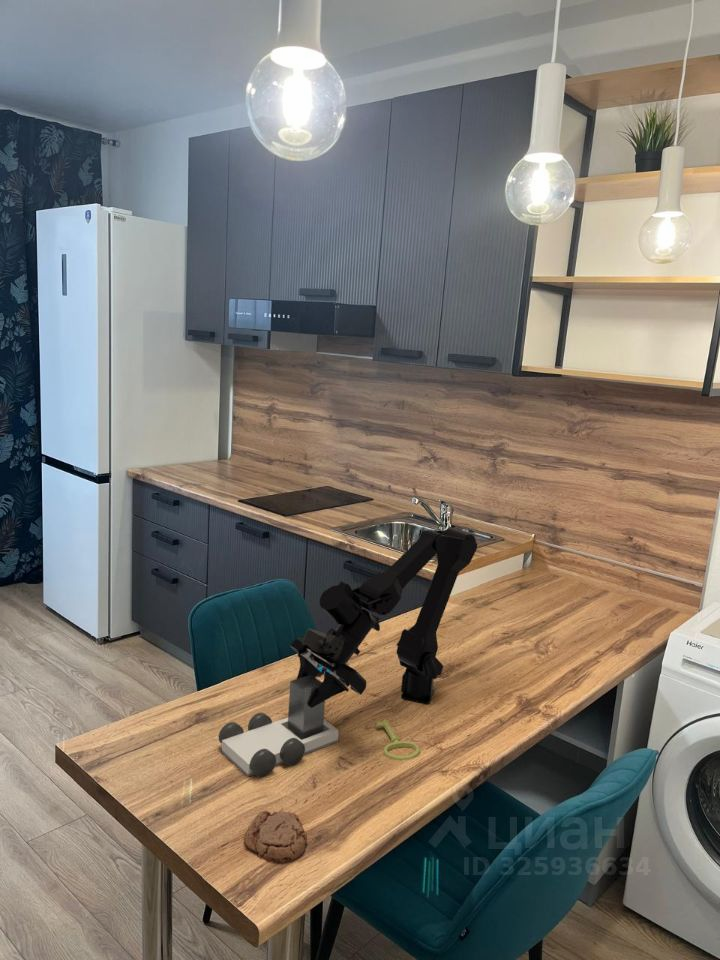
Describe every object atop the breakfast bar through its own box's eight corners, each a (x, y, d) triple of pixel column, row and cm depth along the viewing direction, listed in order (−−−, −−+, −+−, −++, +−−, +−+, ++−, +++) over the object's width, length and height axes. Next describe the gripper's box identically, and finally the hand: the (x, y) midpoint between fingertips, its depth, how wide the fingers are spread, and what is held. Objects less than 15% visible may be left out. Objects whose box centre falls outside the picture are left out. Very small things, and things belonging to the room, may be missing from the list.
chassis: (304, 717, 152) (306, 697, 151) (342, 745, 143) (344, 724, 142) (217, 748, 139) (218, 726, 138) (253, 781, 130) (254, 757, 129)
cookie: (275, 874, 108) (276, 856, 108) (231, 838, 115) (232, 821, 115) (323, 844, 116) (324, 827, 115) (278, 811, 123) (279, 795, 122)
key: (384, 726, 152) (384, 717, 152) (424, 756, 143) (425, 746, 142) (356, 736, 148) (357, 726, 147) (396, 767, 138) (396, 757, 138)
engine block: (307, 720, 148) (310, 674, 146) (322, 731, 144) (326, 684, 142) (287, 727, 145) (290, 681, 143) (302, 739, 141) (305, 691, 139)
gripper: (300, 599, 149) (252, 662, 144) (359, 631, 135) (308, 702, 130) (328, 627, 156) (282, 688, 151) (387, 660, 142) (339, 729, 137)
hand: (301, 700), depth 142 cm, fingers closed on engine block, 5 cm apart
